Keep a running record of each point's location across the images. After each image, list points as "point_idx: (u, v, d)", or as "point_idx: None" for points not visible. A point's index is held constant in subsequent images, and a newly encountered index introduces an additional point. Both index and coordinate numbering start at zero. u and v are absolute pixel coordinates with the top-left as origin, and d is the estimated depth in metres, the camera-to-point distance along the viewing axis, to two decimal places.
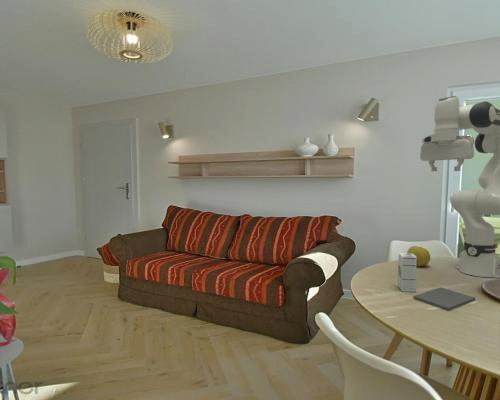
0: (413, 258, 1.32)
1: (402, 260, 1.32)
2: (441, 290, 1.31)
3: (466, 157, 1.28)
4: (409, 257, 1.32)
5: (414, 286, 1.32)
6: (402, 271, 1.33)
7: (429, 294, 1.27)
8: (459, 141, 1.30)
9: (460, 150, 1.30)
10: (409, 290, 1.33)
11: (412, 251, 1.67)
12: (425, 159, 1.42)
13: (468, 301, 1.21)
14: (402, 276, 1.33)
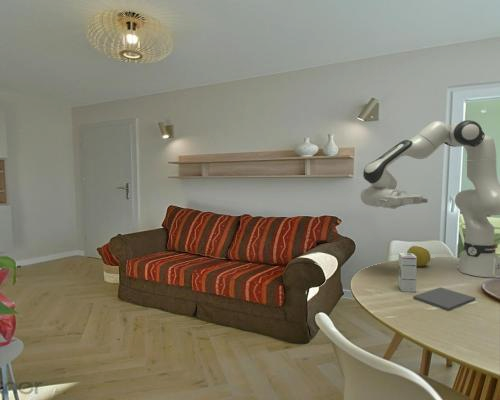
0: (413, 258, 1.32)
1: (402, 260, 1.32)
2: (441, 290, 1.31)
3: (396, 205, 1.41)
4: (409, 257, 1.32)
5: (414, 286, 1.32)
6: (402, 271, 1.33)
7: (429, 294, 1.27)
8: None
9: None
10: (409, 290, 1.33)
11: (412, 251, 1.67)
12: (419, 203, 1.50)
13: (468, 301, 1.21)
14: (402, 276, 1.33)
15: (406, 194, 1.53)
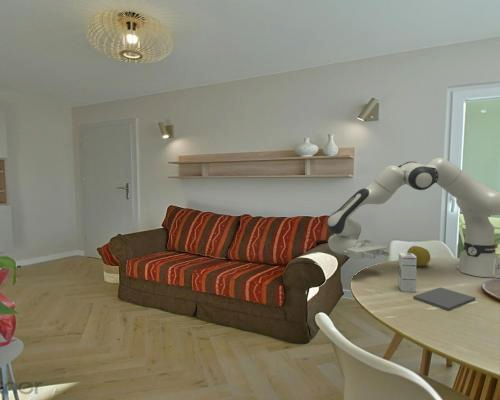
0: (413, 258, 1.32)
1: (402, 260, 1.32)
2: (441, 290, 1.31)
3: None
4: (409, 257, 1.32)
5: (414, 286, 1.32)
6: (402, 271, 1.33)
7: (429, 294, 1.27)
8: None
9: None
10: (409, 290, 1.33)
11: (412, 251, 1.67)
12: (382, 254, 1.53)
13: (468, 301, 1.21)
14: (402, 276, 1.33)
15: (370, 244, 1.57)
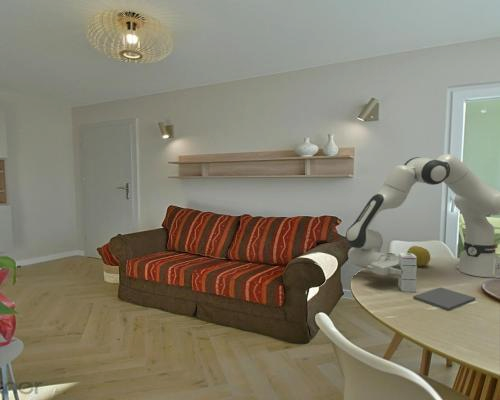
0: (413, 258, 1.32)
1: (402, 260, 1.32)
2: (441, 290, 1.31)
3: None
4: (409, 257, 1.32)
5: (414, 286, 1.32)
6: None
7: (429, 294, 1.27)
8: None
9: None
10: (409, 290, 1.33)
11: (412, 251, 1.67)
12: None
13: (468, 301, 1.21)
14: (402, 276, 1.33)
15: (395, 257, 1.46)
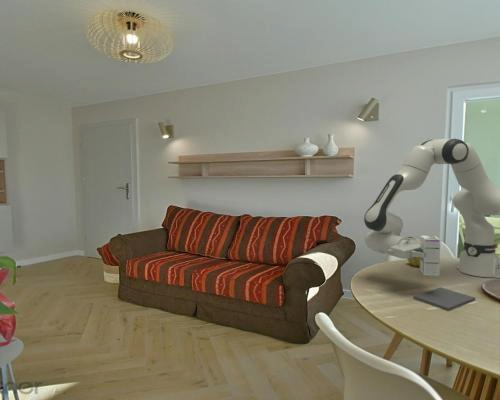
0: (437, 240, 1.25)
1: (425, 243, 1.25)
2: (441, 290, 1.31)
3: (404, 258, 1.27)
4: (432, 239, 1.25)
5: (437, 270, 1.25)
6: None
7: (429, 294, 1.27)
8: None
9: None
10: (432, 274, 1.26)
11: None
12: None
13: (468, 301, 1.21)
14: (425, 259, 1.26)
15: (415, 241, 1.39)
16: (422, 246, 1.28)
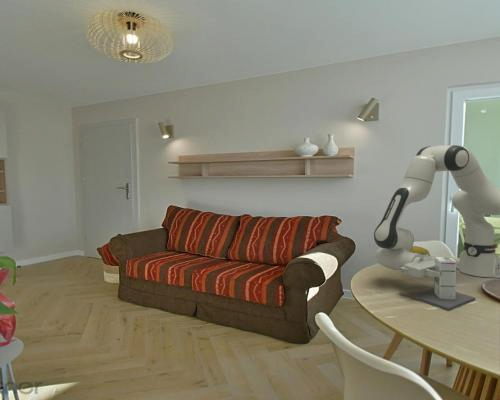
0: (453, 263, 1.21)
1: (440, 266, 1.21)
2: None
3: (419, 277, 1.23)
4: (448, 262, 1.21)
5: (454, 293, 1.21)
6: (440, 277, 1.22)
7: (429, 294, 1.27)
8: None
9: None
10: (448, 298, 1.22)
11: (412, 251, 1.67)
12: None
13: (468, 301, 1.21)
14: (440, 283, 1.22)
15: (429, 258, 1.35)
16: (437, 268, 1.24)
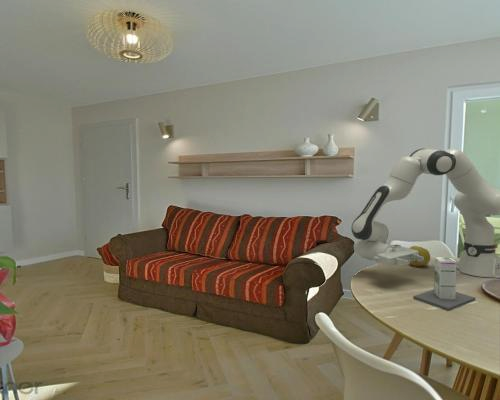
0: (453, 263, 1.21)
1: (440, 266, 1.21)
2: None
3: (390, 265, 1.35)
4: (448, 262, 1.21)
5: (454, 293, 1.21)
6: (440, 277, 1.22)
7: (429, 294, 1.27)
8: None
9: None
10: (448, 298, 1.22)
11: None
12: None
13: (468, 301, 1.21)
14: (440, 283, 1.22)
15: (401, 249, 1.46)
16: (437, 268, 1.24)
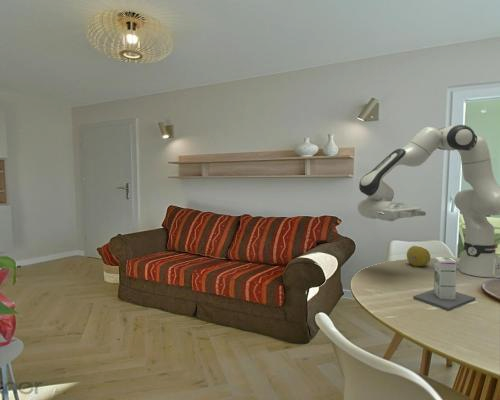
0: (453, 263, 1.21)
1: (440, 266, 1.21)
2: None
3: (393, 218, 1.38)
4: (448, 262, 1.21)
5: (454, 293, 1.21)
6: (440, 277, 1.22)
7: (429, 294, 1.27)
8: None
9: None
10: (448, 298, 1.22)
11: (412, 251, 1.67)
12: (417, 215, 1.47)
13: (468, 301, 1.21)
14: (440, 283, 1.22)
15: (404, 206, 1.50)
16: (437, 268, 1.24)
